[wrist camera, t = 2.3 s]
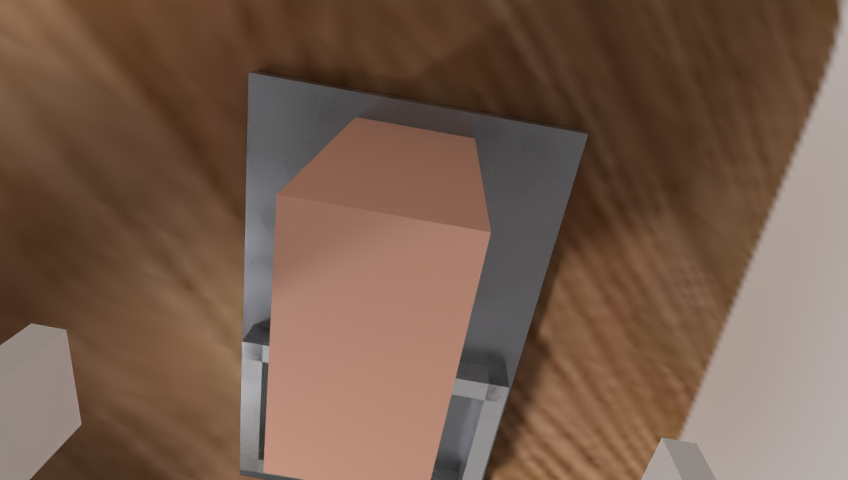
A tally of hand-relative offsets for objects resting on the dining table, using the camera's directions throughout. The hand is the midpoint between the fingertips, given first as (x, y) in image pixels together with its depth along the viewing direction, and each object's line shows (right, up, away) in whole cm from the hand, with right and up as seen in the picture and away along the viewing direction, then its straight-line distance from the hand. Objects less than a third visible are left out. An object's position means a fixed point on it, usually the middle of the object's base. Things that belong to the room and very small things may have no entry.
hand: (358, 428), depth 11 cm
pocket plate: (-1, 0, +14) cm, 14 cm away
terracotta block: (0, +5, +11) cm, 12 cm away
